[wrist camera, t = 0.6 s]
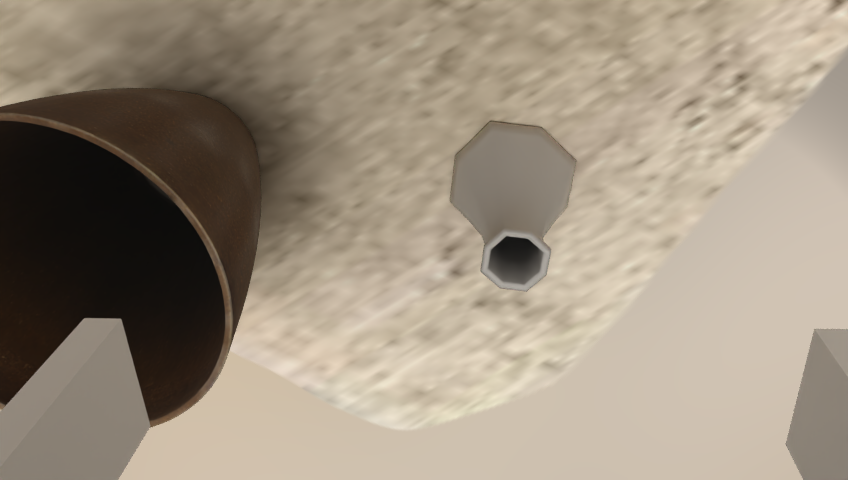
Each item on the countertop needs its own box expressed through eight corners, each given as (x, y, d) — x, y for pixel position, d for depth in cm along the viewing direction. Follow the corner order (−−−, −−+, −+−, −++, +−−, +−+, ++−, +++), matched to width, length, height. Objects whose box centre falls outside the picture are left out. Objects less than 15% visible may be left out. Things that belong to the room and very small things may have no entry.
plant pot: (139, 283, 48) (-10, 457, 34) (26, 65, 42) (-214, 166, 28) (351, 237, 45) (285, 406, 31) (264, -6, 39) (131, 68, 25)
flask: (537, 253, 44) (547, 349, 36) (429, 205, 44) (412, 291, 35) (598, 152, 41) (625, 230, 32) (483, 98, 40) (479, 163, 32)
